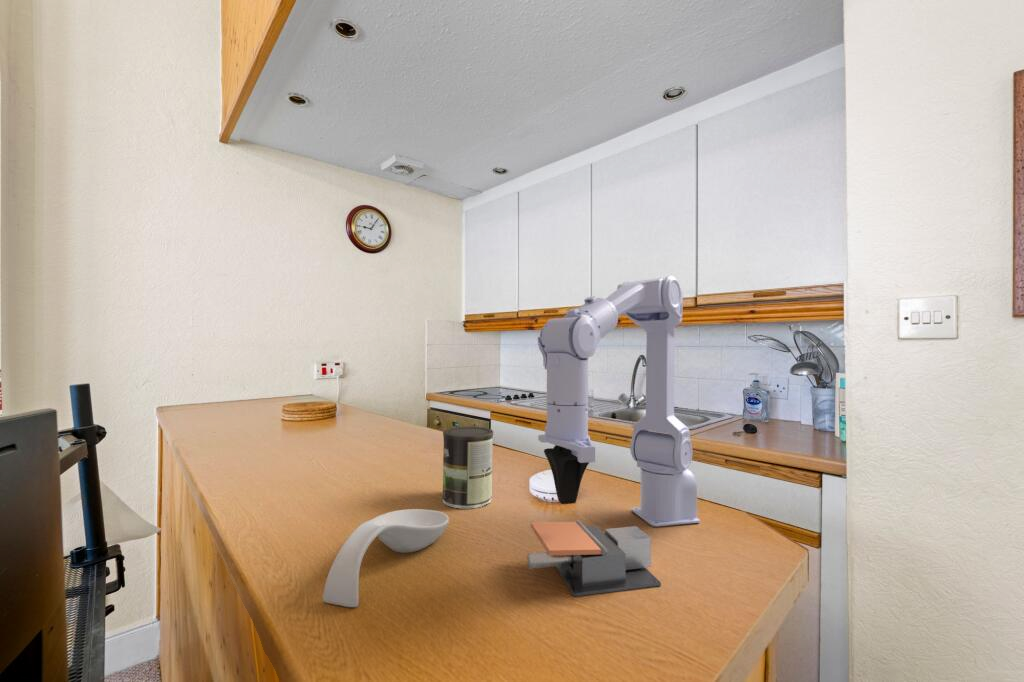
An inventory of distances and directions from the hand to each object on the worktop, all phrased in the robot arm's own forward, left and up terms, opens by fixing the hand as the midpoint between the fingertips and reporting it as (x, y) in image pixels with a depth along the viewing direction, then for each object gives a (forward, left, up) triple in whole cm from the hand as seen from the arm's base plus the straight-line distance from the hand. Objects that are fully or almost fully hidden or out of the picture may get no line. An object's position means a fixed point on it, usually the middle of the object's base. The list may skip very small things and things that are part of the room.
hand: (567, 502), depth 58 cm
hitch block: (-5, 0, -10) cm, 11 cm away
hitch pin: (-3, 0, -9) cm, 10 cm away
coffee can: (+10, -31, -10) cm, 34 cm away
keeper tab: (0, 0, -5) cm, 5 cm away
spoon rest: (+24, -9, -10) cm, 27 cm away
